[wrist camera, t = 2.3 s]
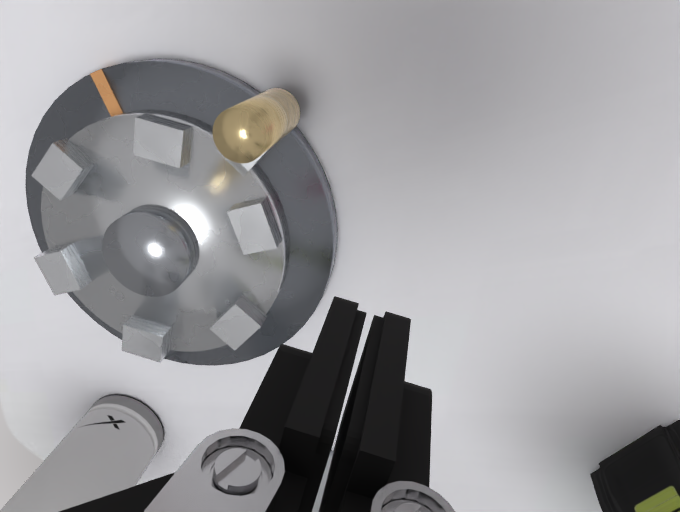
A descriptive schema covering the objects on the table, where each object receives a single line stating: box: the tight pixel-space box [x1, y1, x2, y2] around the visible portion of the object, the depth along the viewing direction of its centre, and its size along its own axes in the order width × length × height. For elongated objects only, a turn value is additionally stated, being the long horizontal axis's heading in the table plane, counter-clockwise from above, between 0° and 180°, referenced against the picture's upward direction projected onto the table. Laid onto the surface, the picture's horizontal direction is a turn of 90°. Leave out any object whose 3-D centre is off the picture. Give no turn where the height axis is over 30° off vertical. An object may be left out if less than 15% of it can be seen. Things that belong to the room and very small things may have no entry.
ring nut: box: [31, 88, 300, 362], centre depth 29 cm, size 19×15×6 cm
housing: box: [26, 59, 337, 365], centre depth 34 cm, size 20×20×2 cm
